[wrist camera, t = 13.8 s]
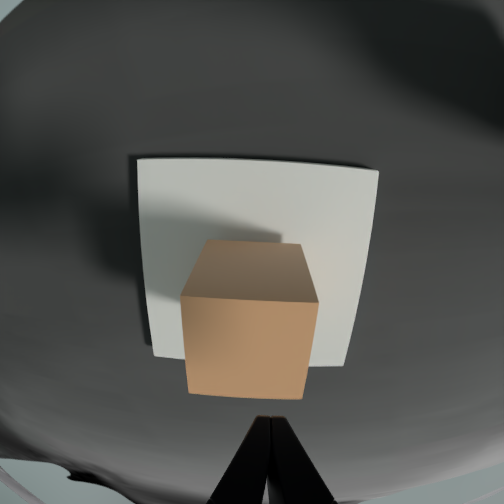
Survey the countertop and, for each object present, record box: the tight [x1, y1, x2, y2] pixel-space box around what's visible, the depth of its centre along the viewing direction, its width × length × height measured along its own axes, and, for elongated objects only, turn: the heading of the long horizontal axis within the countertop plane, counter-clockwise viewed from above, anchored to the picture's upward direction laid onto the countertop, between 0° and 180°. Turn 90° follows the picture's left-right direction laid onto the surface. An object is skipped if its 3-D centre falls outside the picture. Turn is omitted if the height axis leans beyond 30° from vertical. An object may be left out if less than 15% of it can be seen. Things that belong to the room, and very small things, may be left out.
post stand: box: [137, 158, 379, 366], centre depth 17 cm, size 14×14×8 cm
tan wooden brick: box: [180, 239, 319, 399], centre depth 16 cm, size 5×5×7 cm
